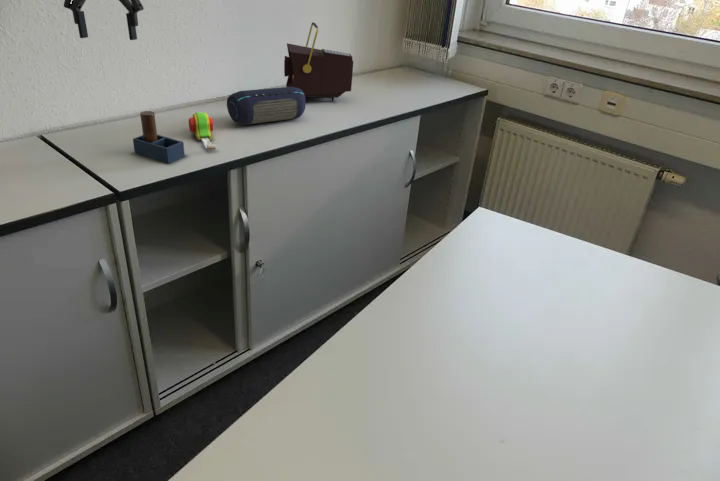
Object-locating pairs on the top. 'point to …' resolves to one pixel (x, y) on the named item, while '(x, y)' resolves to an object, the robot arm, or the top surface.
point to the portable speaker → (266, 105)
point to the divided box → (159, 149)
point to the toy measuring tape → (202, 128)
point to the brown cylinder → (148, 126)
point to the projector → (318, 70)
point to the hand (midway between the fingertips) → (108, 38)
